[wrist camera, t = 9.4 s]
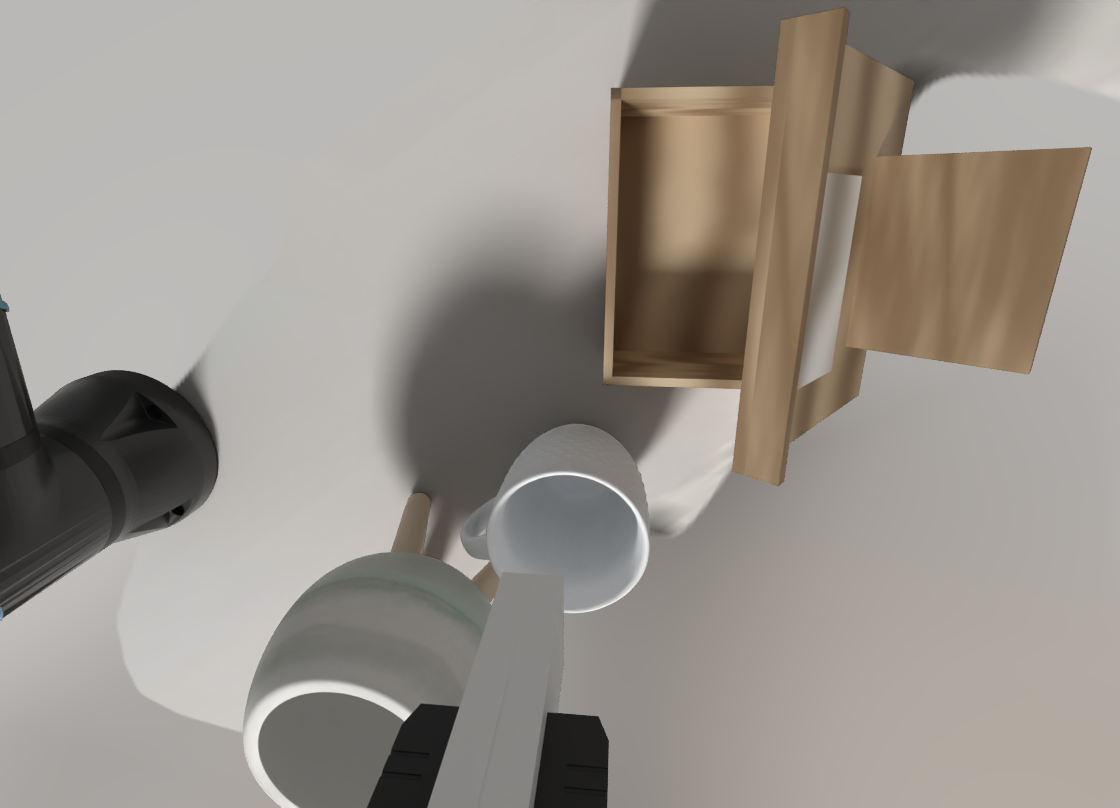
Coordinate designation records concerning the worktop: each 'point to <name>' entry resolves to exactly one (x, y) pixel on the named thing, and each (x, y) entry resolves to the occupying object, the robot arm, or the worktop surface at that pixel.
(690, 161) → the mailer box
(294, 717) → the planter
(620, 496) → the mug
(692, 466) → the worktop surface
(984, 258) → the lid
